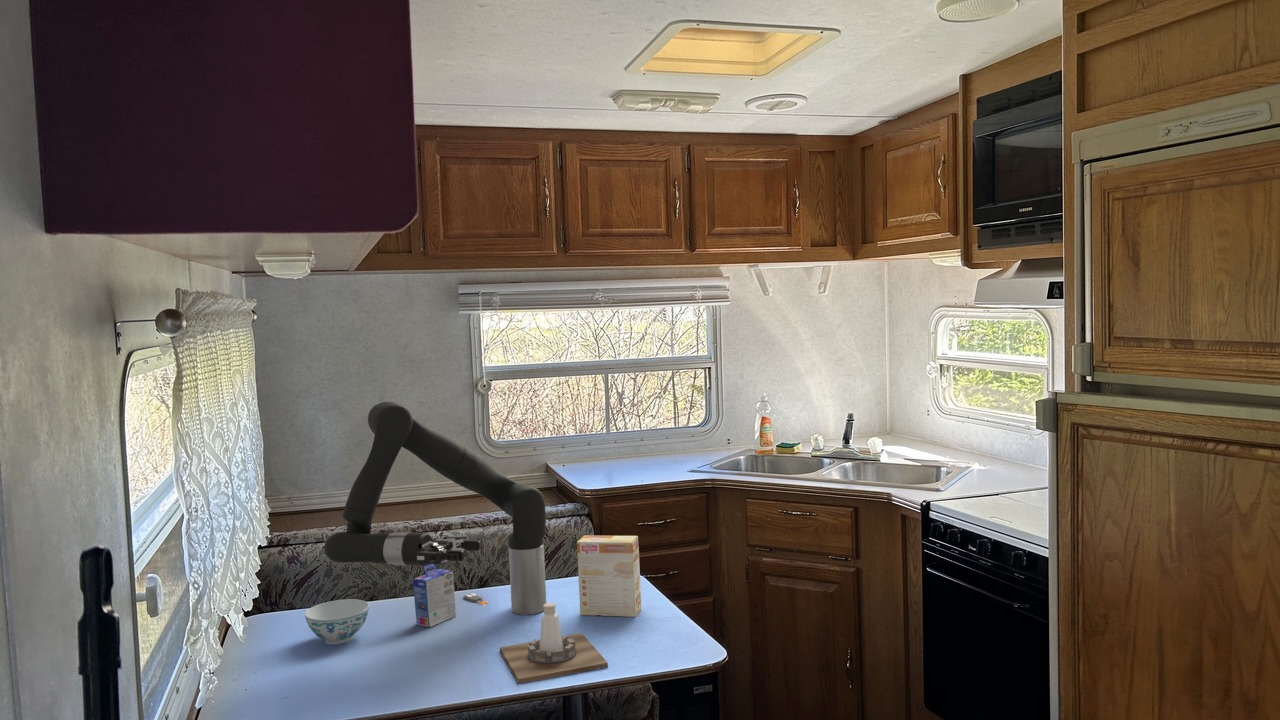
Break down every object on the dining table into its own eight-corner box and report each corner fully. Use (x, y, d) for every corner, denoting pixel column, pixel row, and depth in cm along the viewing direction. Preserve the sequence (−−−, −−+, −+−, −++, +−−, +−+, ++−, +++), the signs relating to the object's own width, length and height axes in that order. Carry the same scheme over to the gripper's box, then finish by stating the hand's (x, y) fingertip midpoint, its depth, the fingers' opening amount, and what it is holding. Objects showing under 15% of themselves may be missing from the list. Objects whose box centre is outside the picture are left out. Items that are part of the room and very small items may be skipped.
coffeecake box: (642, 608, 233) (638, 535, 232) (635, 617, 226) (632, 542, 225) (587, 606, 236) (584, 534, 235) (579, 615, 229) (576, 541, 228)
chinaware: (305, 635, 223) (303, 605, 223) (367, 625, 229) (365, 595, 229) (308, 655, 210) (306, 623, 209) (374, 643, 216) (372, 612, 215)
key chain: (461, 600, 248) (461, 595, 247) (473, 597, 250) (473, 592, 250) (486, 610, 238) (486, 605, 238) (498, 607, 240) (498, 601, 240)
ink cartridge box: (442, 613, 236) (439, 559, 235) (457, 616, 233) (454, 561, 232) (414, 624, 228) (411, 569, 227) (429, 628, 225) (426, 572, 224)
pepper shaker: (534, 653, 201) (532, 605, 201) (552, 645, 205) (550, 598, 205) (551, 658, 198) (548, 609, 197) (568, 650, 202) (566, 603, 201)
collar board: (499, 651, 207) (499, 636, 207) (582, 637, 214) (581, 622, 214) (518, 683, 188) (517, 667, 188) (607, 667, 195) (607, 651, 195)
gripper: (391, 541, 200) (456, 542, 196) (422, 525, 214) (484, 526, 209) (393, 573, 200) (458, 576, 196) (424, 556, 214) (486, 557, 210)
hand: (471, 550), depth 203 cm, fingers open, 8 cm apart
